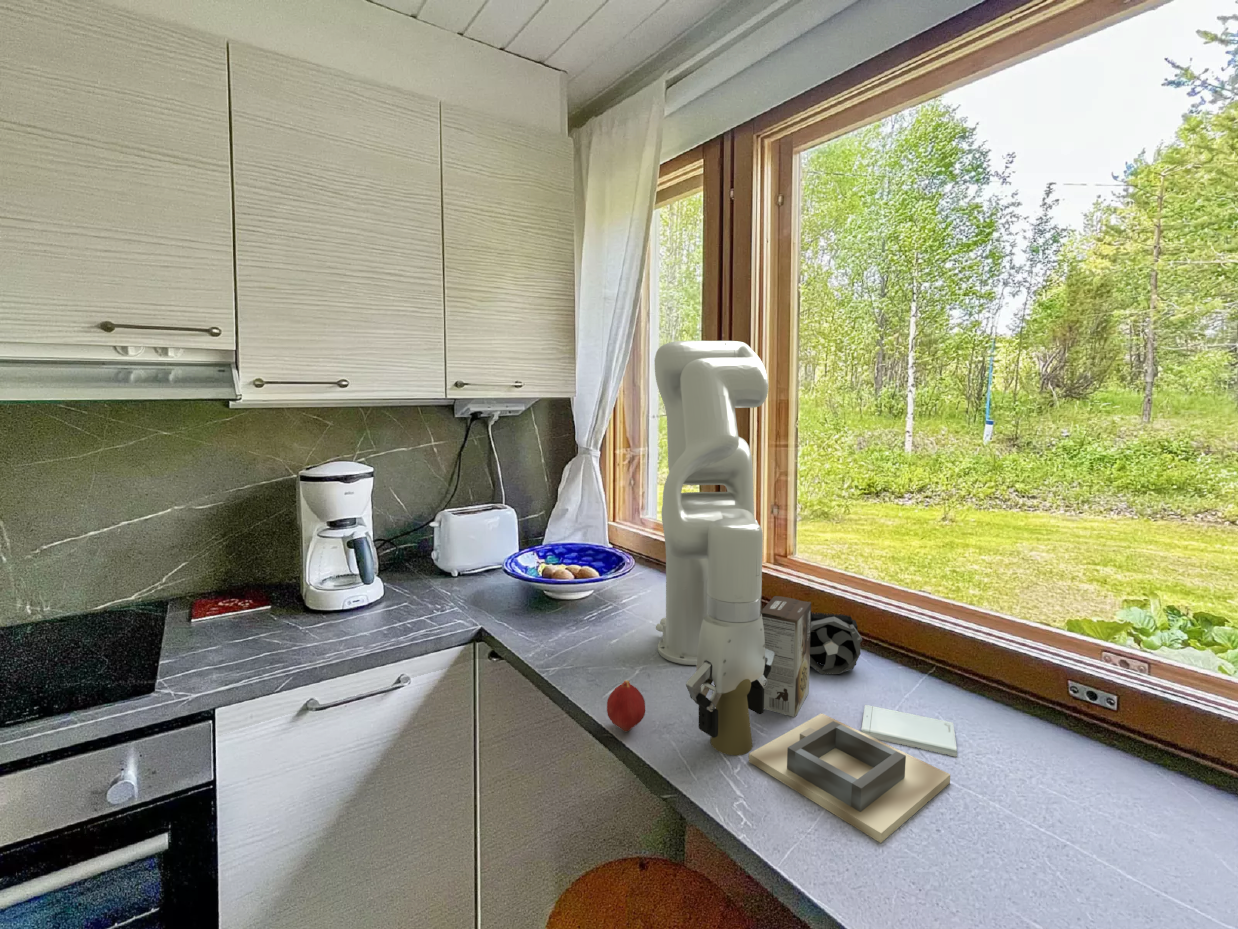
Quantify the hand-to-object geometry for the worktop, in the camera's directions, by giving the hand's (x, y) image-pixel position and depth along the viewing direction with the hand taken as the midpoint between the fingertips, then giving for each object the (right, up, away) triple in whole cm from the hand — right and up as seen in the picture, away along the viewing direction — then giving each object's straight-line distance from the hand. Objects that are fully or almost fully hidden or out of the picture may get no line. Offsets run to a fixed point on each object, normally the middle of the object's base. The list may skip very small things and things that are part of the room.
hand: (731, 721), depth 86 cm
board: (+14, -4, -6) cm, 16 cm away
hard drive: (+27, -4, +3) cm, 27 cm away
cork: (0, -4, 0) cm, 4 cm away
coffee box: (+11, -2, +12) cm, 17 cm away
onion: (-15, -3, +4) cm, 16 cm away
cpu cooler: (+22, -1, +24) cm, 33 cm away
